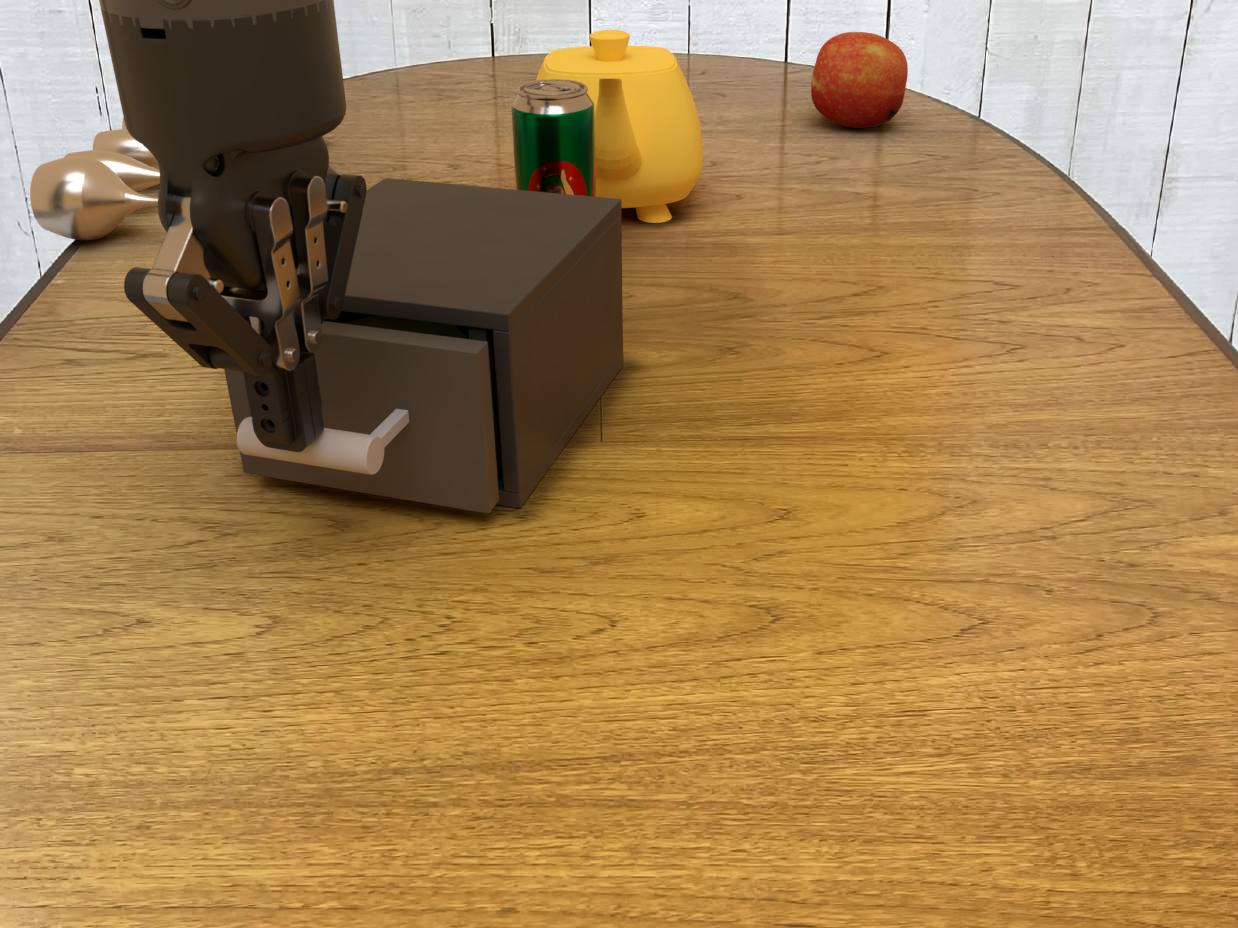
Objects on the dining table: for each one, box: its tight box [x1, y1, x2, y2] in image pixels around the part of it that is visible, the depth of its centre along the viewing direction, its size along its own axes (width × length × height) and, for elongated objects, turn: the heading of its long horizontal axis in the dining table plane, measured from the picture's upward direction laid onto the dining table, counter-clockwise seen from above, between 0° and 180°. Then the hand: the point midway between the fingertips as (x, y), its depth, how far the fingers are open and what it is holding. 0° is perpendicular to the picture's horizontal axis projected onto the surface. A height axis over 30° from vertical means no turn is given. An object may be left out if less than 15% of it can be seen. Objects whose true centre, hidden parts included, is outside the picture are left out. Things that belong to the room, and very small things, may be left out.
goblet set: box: [29, 116, 160, 241], centre depth 97 cm, size 28×6×13 cm
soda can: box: [511, 79, 596, 197], centre depth 79 cm, size 5×5×12 cm
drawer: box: [223, 311, 502, 514], centre depth 59 cm, size 19×12×8 cm, turn 162°
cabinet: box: [342, 177, 624, 509], centre depth 63 cm, size 16×14×10 cm
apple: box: [810, 31, 909, 129], centre depth 109 cm, size 8×8×8 cm
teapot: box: [535, 29, 704, 224], centre depth 90 cm, size 13×20×12 cm
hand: (292, 441), depth 51 cm, fingers closed
